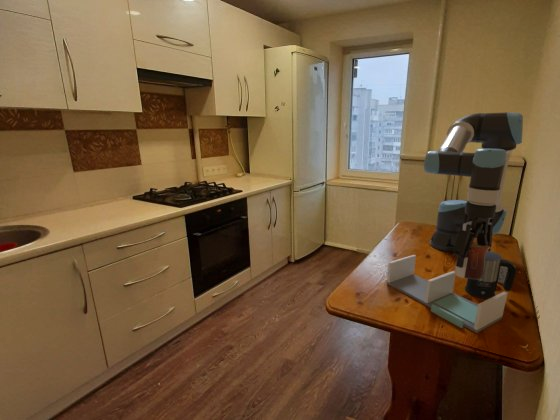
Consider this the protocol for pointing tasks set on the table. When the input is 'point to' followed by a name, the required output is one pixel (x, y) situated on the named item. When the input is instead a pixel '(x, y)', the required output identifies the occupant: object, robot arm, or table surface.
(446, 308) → the rack
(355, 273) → the table surface
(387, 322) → the table surface
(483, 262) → the mug
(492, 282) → the milk frother
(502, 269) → the mug
